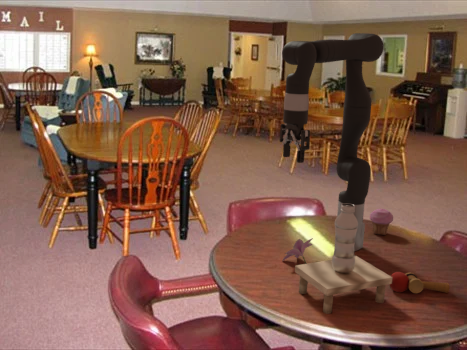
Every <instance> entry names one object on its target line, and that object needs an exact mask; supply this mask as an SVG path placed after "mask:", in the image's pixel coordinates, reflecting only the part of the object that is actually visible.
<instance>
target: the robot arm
mask: <svg viewBox="0 0 467 350" xmlns="http://www.w3.org/2000/svg"><path fill="white" fill-rule="evenodd" d="M384 48H385V47H384V41H383V39H382V37H381V36H379V35H378V34H376V33H367V32H366V33H365V32H362V33H360V32H357V33H352V34H351V35H349V37H348V39H335V38H333V39H317V40H307V41H306V40H292V41H288V42H287V43H286V44H285V45H284V47H283V48H282V52H281V55H282V58H283V60H284V62H286V63H287V64H288V65H291V66H296V68H295V72H293V73H292V72H291V73H290V74H287V76H286V81H285V93H284V100H283V102H284V103H283V119H282V120H283V121H282V122H283V123H281V124H280V131H279V143H281V144H282V146H283V147H282V148H283V149H282V157H283V158H290V157H291V143H292V142H293V144H294V145H295V146H296V149H297V151H296V163H299V164H300V163H301V164H302V163H304V162H305V153H306V151H307V150H310V147H311V146H310V145H311V144H310V142H311V141H310V140H311V131H310V129H305V125H307V124H308V121H309V105H310V104H309V103H310V102H309V101H310V99H309V97H310V96H309V92H310V90H309V89H310V80H311V76H312V74H313V70H314V67H315V64H323V63H325V64H326V63H333V62H339V61H340V62H341V61H345V89H344V101H343V113H342V127H341V137H340V146H339V151H338V156H337V162H336V173H337V177H338V178H339V179H341V180H343V181H344V182H347V186H346V190H343V191H340V192H339V193H338V200H337V201H338V202H337V213H336V218H337V217H338V215H339V214H340V213H341V211H340V210H341V205H342V204H345V203H348V204H353V205H355V209H354V210H355V212H354V213H353V214H354V216H355V217H356V219H357V221H358V228H357V232H356V237H355V244H354V252H357V251H359V250H361V249H363V248H364V239H365V228H366V223H365V222H364V215H365V214H364V212H365V204H366V202H365V201H366V198H367V196H368V193H369V188H370V187H369V186H370V181H371V171H372V170H371V165H370V163H369V162H368V161H367V160H366V159H363V158H360V157H358V148H359V142H360V140H361V137H362V136H363V134H364V132H365V130H366V129H367V127H368V125H369V124H370V120H371V115H372V114H371V113H372V98H371V95H370V92H369V90H368V87H367V85H366V83H365V80H364V77H363V76H364V75H363V63H364V62H365V63H370V62H371V63H372V62H376V61H378V60H379V59H381V56H382V54H383V52H384Z"/></svg>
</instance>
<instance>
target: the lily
mask: <svg viewBox="0 0 467 350" xmlns="http://www.w3.org/2000/svg"><path fill="white" fill-rule="evenodd" d="M312 240H314V238H310V239H308V240H307V241H305V242H304V241H303V240H302V239H301V238H299V239H297V240H296V241H295V242H294V243H293V246H292V249H290V250H288V251H286V252H285V253H284V254H285V256H284V257H283V259H282V260H281V261H282V262H283V261H285V260H287V259H289V258H290V257H292V256H294V257H295V258H297V259H298V258H299V257H302V259H303V261H304V264H307V262H306V260H305V257H304V253H305V250H306V248H309V247H310V246H313V243H311V241H312Z"/></svg>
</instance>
